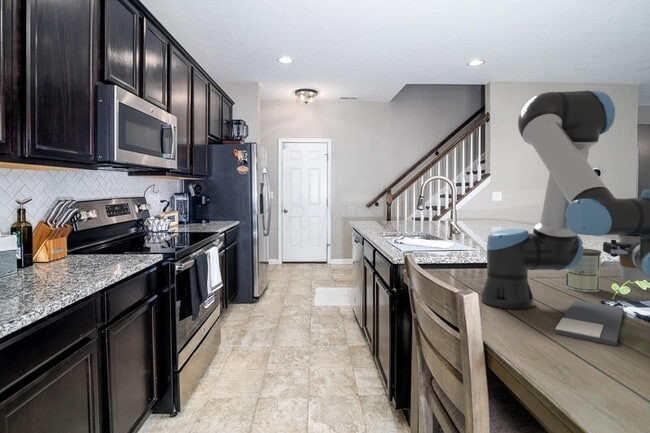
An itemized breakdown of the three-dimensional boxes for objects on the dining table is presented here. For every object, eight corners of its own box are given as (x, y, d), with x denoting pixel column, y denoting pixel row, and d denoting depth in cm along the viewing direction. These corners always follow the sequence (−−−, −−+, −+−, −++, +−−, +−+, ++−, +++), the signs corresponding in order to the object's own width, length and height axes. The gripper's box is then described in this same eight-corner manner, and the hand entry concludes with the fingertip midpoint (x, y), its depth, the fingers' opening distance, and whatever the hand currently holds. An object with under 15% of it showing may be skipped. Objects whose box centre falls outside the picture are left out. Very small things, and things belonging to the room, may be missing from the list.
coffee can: (559, 285, 137) (560, 248, 136) (588, 285, 136) (589, 248, 135) (575, 292, 127) (576, 252, 126) (607, 292, 126) (608, 252, 125)
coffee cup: (664, 281, 96) (666, 225, 95) (638, 284, 94) (640, 226, 93) (631, 275, 104) (633, 223, 103) (607, 277, 103) (608, 224, 102)
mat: (616, 345, 83) (616, 340, 82) (554, 333, 91) (555, 328, 90) (623, 310, 106) (623, 306, 106) (574, 303, 114) (574, 299, 114)
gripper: (596, 268, 89) (587, 255, 108) (714, 277, 78) (681, 260, 98) (597, 238, 89) (588, 230, 108) (715, 243, 78) (682, 233, 97)
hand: (632, 244), depth 103 cm, fingers closed on coffee cup, 8 cm apart
